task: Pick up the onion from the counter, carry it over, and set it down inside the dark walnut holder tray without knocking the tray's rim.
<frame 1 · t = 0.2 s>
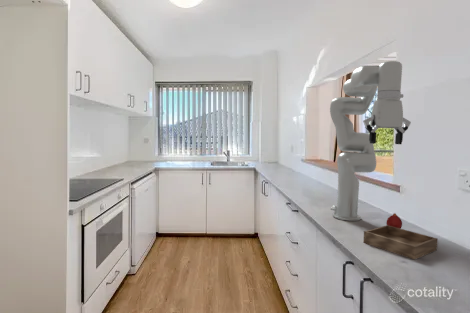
hand: (385, 143, 113), 37 cm above the countertop, tool pointing down, fingers open, 9 cm apart
holder tray: (399, 246, 111), on the countertop
onion: (393, 232, 127), on the countertop
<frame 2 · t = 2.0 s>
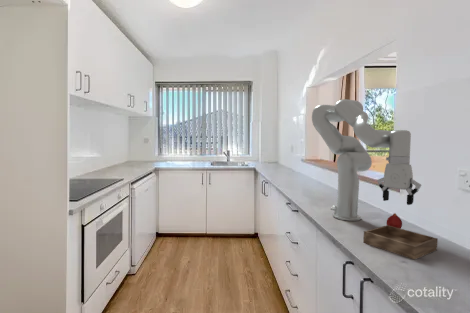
hand: (397, 202, 126), 13 cm above the countertop, tool pointing down, fingers open, 9 cm apart
nothing on the countertop moved.
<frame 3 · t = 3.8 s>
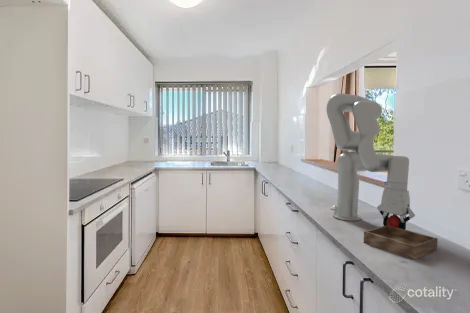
hand: (393, 228, 127), 1 cm above the countertop, tool pointing down, fingers closed on onion, 5 cm apart
onion: (393, 232, 127), on the countertop, touching gripper
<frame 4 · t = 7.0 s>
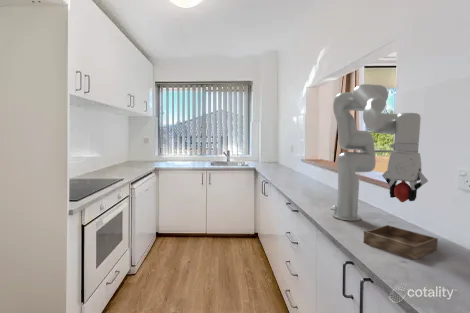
hand: (402, 198, 110), 17 cm above the countertop, tool pointing down, fingers closed on onion, 5 cm apart
onion: (402, 202, 110), point 16 cm above the countertop, touching gripper
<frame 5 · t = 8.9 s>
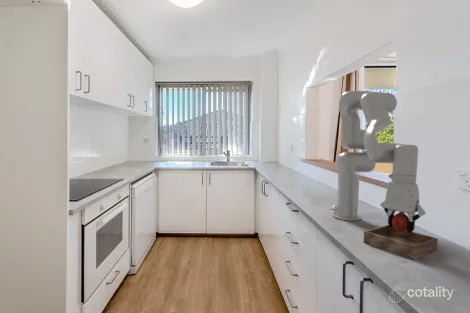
hand: (400, 228, 110), 6 cm above the countertop, tool pointing down, fingers closed on onion, 5 cm apart
onion: (400, 233, 110), point 5 cm above the countertop, touching gripper
when the fingers open (4 cm above the countertop, at t = 10.3 s): onion drops 1 cm, resting on holder tray.
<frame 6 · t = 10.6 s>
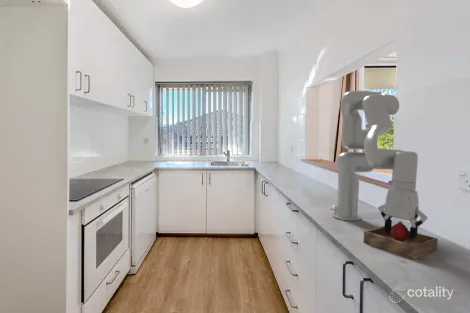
hand: (400, 233, 110), 5 cm above the countertop, tool pointing down, fingers open, 8 cm apart
onion: (398, 243, 111), point 1 cm above the countertop, touching holder tray
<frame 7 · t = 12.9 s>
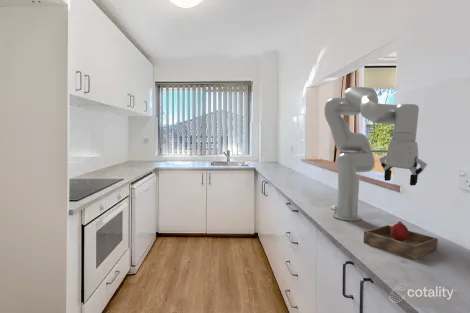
hand: (399, 182, 117), 22 cm above the countertop, tool pointing down, fingers open, 9 cm apart
nothing on the countertop moved.
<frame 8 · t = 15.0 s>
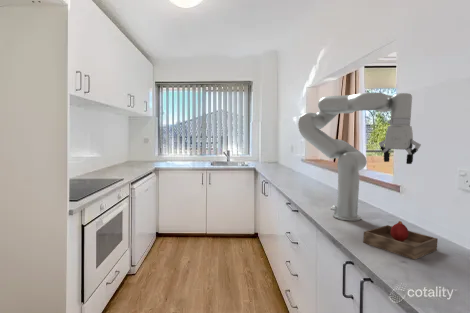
hand: (397, 162, 133), 28 cm above the countertop, tool pointing down, fingers open, 9 cm apart
nothing on the countertop moved.
at the end: onion inside the target area on the holder tray (0.3 cm from its centre), point 1.0 cm above the holder tray's base; onion touching holder tray; the gripper is holding nothing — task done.
